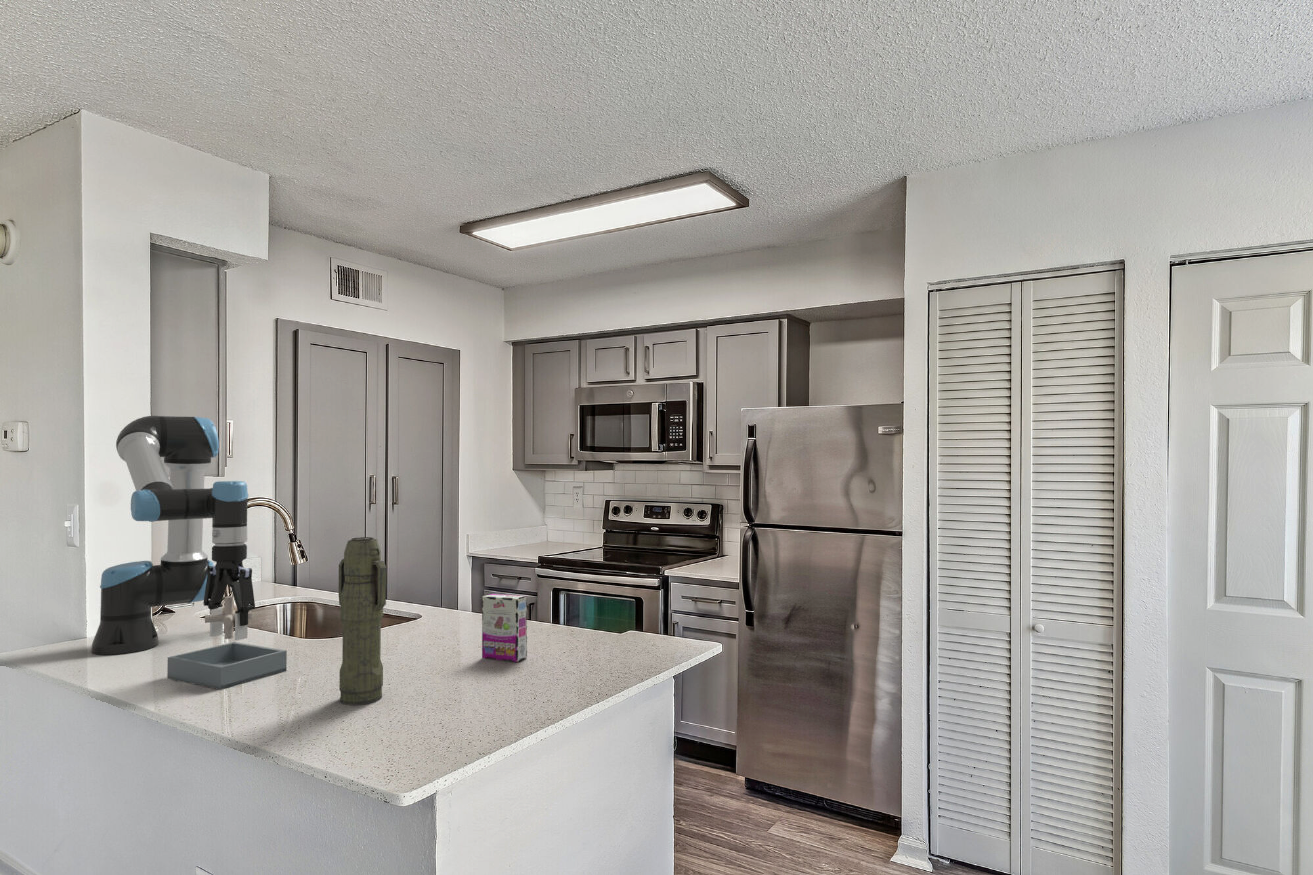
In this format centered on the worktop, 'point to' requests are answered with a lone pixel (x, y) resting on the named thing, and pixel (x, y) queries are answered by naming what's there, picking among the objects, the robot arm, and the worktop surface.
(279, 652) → the bin
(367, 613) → the thermos
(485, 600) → the candy bar box
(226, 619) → the pipe connector
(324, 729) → the worktop surface
